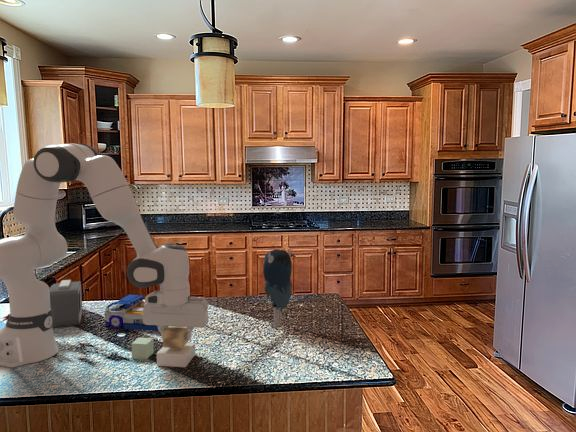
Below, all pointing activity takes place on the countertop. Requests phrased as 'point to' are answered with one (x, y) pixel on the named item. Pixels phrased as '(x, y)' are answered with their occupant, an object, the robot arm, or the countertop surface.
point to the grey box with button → (66, 303)
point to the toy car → (128, 314)
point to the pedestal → (176, 356)
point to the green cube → (142, 348)
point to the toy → (278, 281)
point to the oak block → (174, 337)
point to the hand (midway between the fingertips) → (176, 338)
